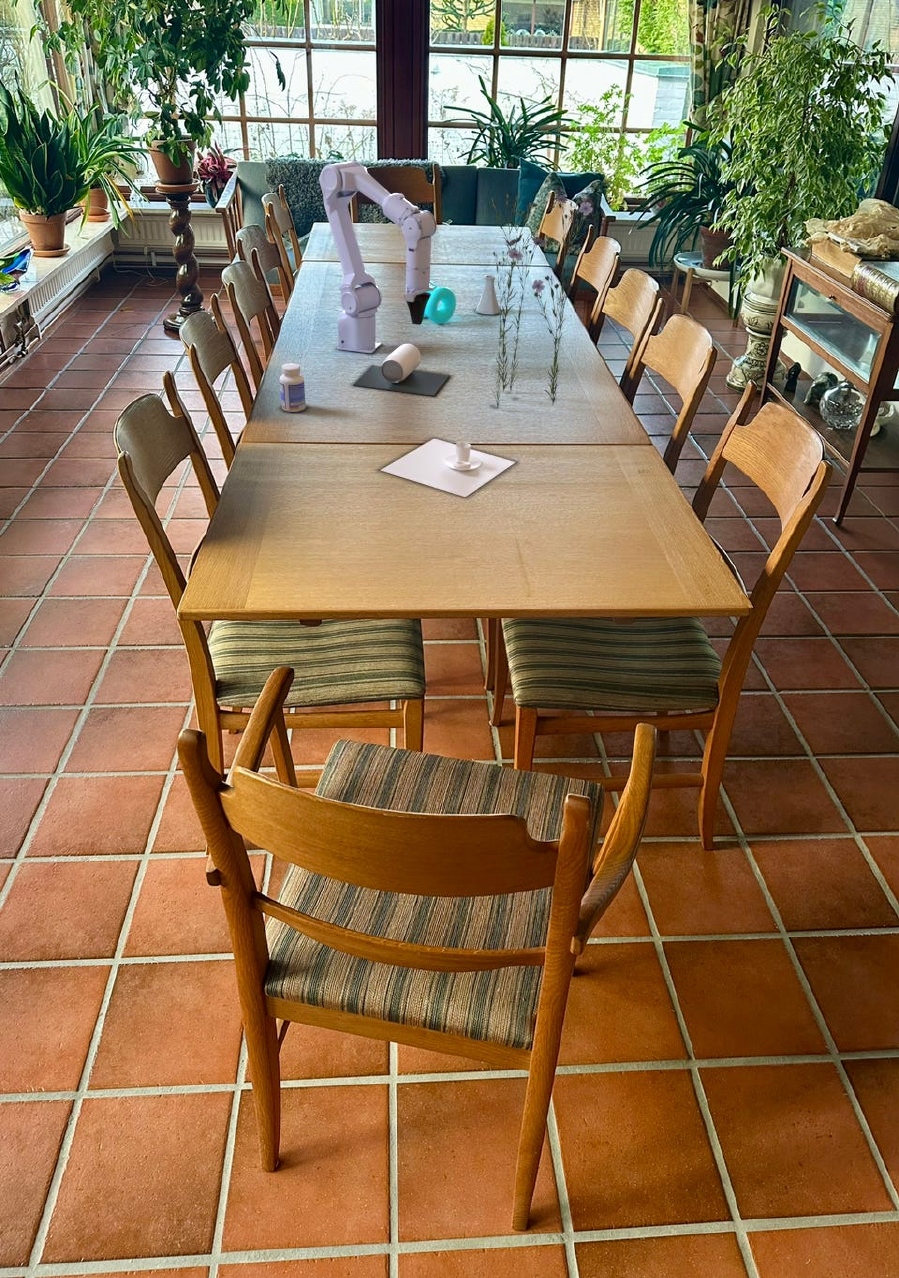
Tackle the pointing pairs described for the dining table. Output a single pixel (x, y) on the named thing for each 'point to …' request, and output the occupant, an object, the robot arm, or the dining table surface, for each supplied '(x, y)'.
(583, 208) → the wildflower
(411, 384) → the mat
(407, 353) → the can
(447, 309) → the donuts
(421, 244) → the robot arm
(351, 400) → the dining table surface
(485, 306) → the flask
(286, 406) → the pill bottle
